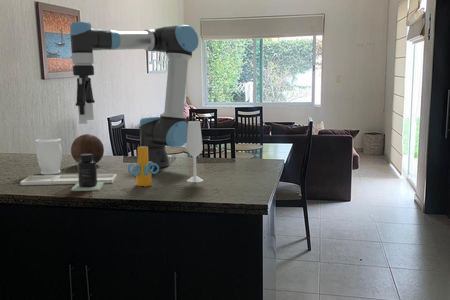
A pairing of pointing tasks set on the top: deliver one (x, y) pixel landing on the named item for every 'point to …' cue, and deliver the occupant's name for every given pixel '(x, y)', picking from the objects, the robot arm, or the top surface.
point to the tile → (79, 188)
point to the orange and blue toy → (143, 168)
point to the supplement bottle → (87, 171)
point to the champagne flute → (194, 145)
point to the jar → (49, 155)
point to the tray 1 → (38, 180)
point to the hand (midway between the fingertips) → (86, 121)
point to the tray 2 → (106, 178)
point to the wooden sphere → (87, 147)
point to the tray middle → (66, 179)
